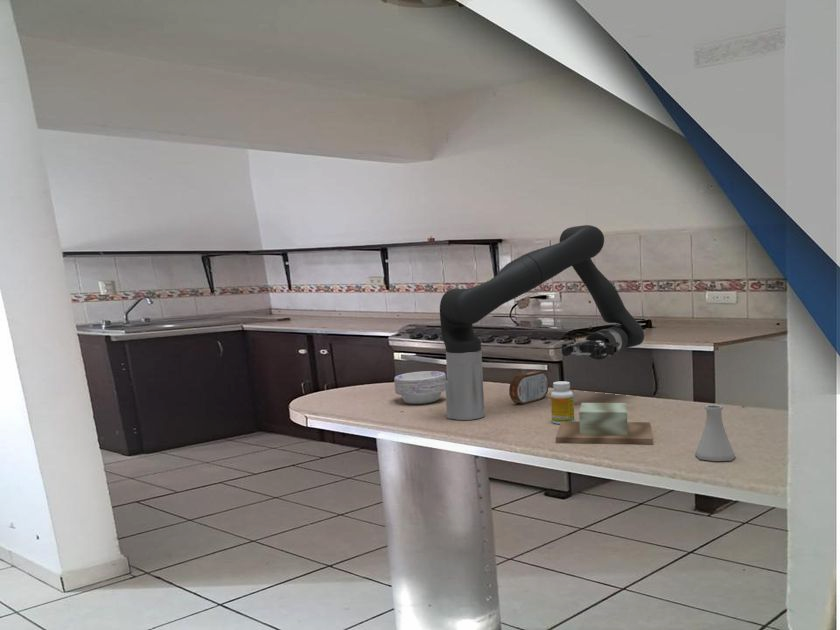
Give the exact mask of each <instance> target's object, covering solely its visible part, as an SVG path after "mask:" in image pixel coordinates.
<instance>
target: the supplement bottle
mask: <svg viewBox="0 0 840 630" xmlns="http://www.w3.org/2000/svg"><path fill="white" fill-rule="evenodd" d="M552 388H553V391H552V392H551V393H550V405H551V406H550V407H551V414H550V415H551V422H552V423H553V424H556V425H560V424H561V421H569V422H575V410H574V409H575V406H574V405H575V404H574V393H573V391H572V390H570V389H571V383H570V382H569V381H566V380H565V381H554V382H553V383H552Z"/></svg>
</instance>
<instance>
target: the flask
mask: <svg viewBox="0 0 840 630" xmlns="http://www.w3.org/2000/svg"><path fill="white" fill-rule="evenodd" d="M723 408H724V406H723V405H720V404H706V405H705V406H704V409H705V410H706V419H705V423H704V424H705V425H704V427H703V431H702V434H701V436H700V439H699V442H698V445H697V447H696V450H695V453H694V456H695V457H697V458H698V459H699V460H703V461H704V460H705V461H710V462H731V461H733V460H734V459H735V458H736V455H735V453H734V450H733V447H732V444H731V442H730V439H729V437H728V434H727V431H726V429H725V426H724V423H723V422H724V421H723V418H722V417H723V415H722V411H723Z"/></svg>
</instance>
